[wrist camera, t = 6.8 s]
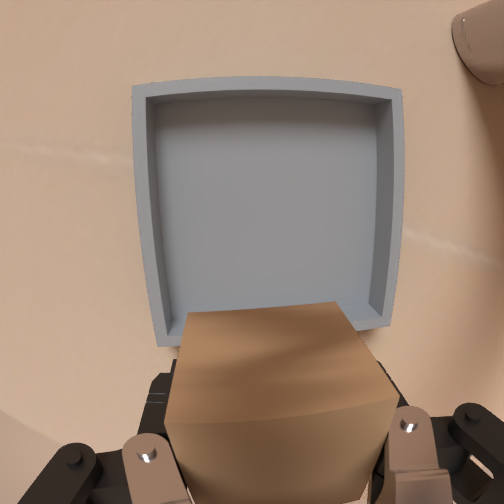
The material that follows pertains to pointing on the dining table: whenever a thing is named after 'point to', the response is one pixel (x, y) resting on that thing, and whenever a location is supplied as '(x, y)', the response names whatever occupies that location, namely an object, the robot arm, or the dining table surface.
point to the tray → (268, 196)
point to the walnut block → (277, 406)
